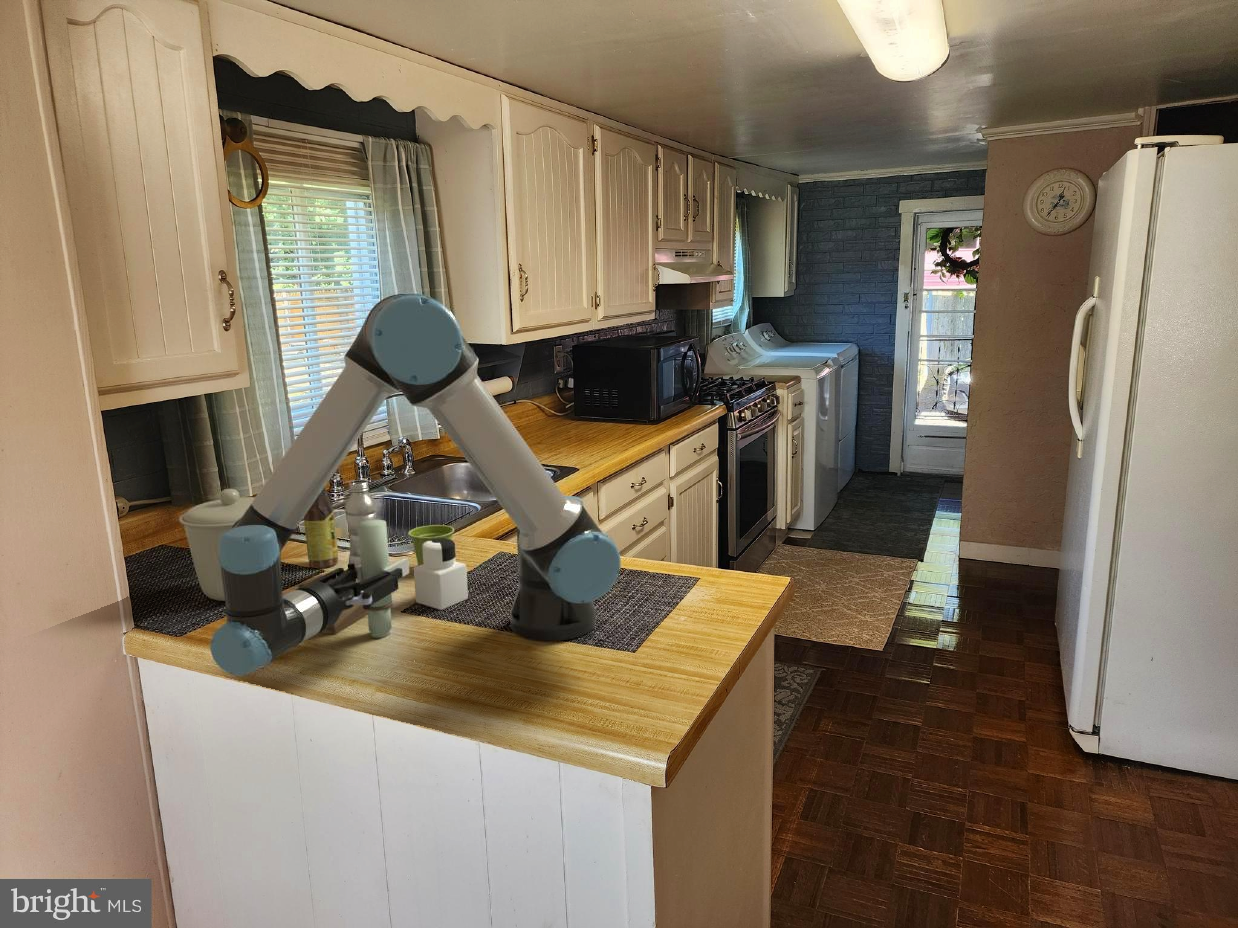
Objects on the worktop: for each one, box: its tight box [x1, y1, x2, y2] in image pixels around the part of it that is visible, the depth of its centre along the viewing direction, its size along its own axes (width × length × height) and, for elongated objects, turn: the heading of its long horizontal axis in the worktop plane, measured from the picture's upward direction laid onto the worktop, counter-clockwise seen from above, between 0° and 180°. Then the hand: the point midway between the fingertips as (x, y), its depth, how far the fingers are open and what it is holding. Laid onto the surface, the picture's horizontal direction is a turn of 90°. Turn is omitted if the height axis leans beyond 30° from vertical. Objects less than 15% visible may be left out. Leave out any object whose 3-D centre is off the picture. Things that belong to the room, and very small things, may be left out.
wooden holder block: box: [283, 574, 368, 635], centre depth 155 cm, size 13×13×5 cm
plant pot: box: [407, 524, 455, 566], centre depth 178 cm, size 9×9×9 cm
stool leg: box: [358, 519, 393, 639], centre depth 145 cm, size 5×5×20 cm
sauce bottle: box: [303, 486, 339, 569], centre depth 182 cm, size 6×6×20 cm
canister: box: [179, 488, 256, 602], centre depth 166 cm, size 18×18×21 cm
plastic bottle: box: [343, 479, 378, 568], centre depth 175 cm, size 6×7×20 cm
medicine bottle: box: [413, 538, 469, 611], centre depth 161 cm, size 7×7×12 cm
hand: (393, 564), depth 149 cm, fingers closed on stool leg, 4 cm apart
